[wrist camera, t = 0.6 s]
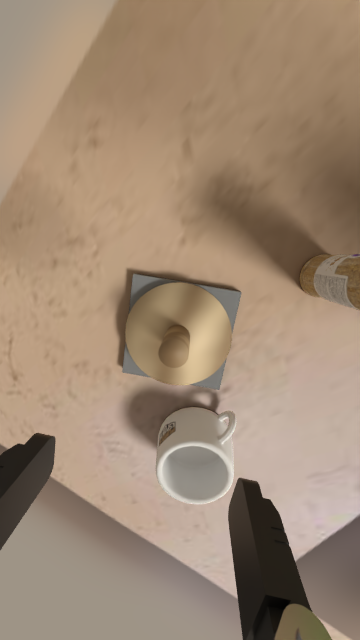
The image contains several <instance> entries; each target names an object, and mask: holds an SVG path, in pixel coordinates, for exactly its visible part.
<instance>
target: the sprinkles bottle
mask: <svg viewBox="0 0 360 640" xmlns="http://www.w3.org/2000/svg"><path fill="white" fill-rule="evenodd" d="M299 280H300V284H301V287H302V289H303V290H304V291H305V292H306V293H307V294H309V295H311V296H314V297H321V298H324V299H326V300H328V301H332V302H335V303H338V304H341V305H344V306H347V307H351V308H354V309H357V310H360V254H344V255H328V254H325V255H318V256H315V257H313V258H312V259H310V260H309V261H308V262H306V264H305V265H304V266H303V268H302V270H301V273H300V279H299Z"/></svg>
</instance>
